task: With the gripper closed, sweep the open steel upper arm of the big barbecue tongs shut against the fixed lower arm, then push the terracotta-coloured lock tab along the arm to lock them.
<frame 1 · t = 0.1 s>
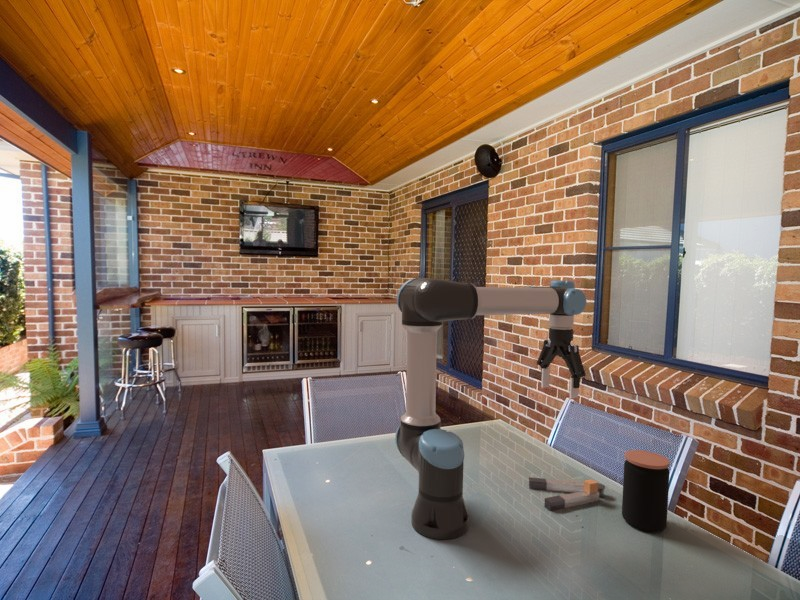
hand: (558, 392, 148), 28 cm above the table, fingers open, 13 cm apart
tongs lower: (598, 495, 136), on the table
tongs upper: (558, 485, 139), point 1 cm above the table, hinge at 30.0°
coffee jar: (643, 523, 121), on the table
lock tab: (590, 486, 133), point 4 cm above the table, slide at 0.0 cm
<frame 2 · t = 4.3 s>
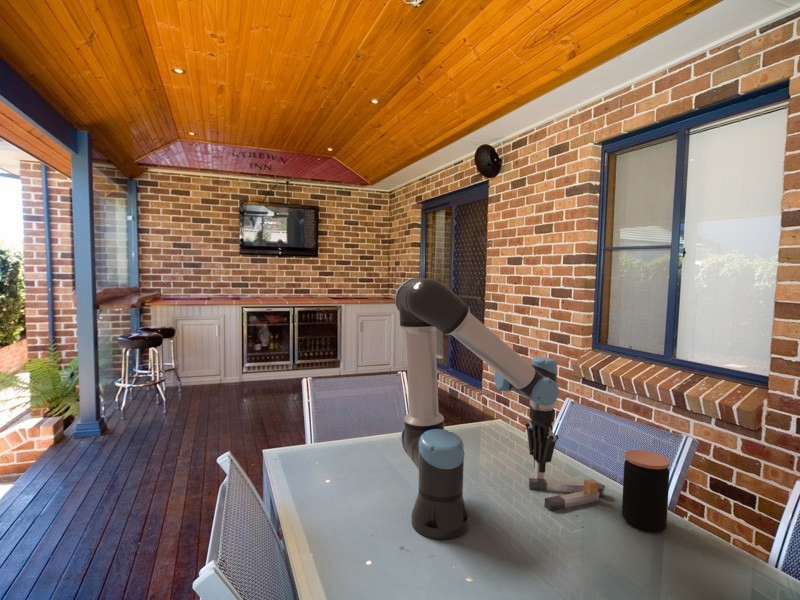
hand: (539, 480, 142), 1 cm above the table, fingers closed
tongs upper: (558, 485, 139), point 1 cm above the table, hinge at 28.5°, touching gripper
everything else where it was.
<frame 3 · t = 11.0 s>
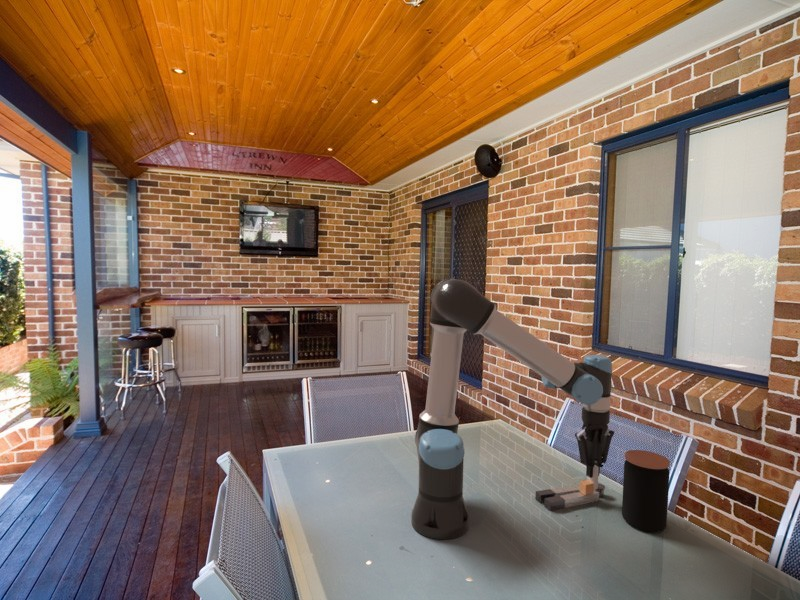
hand: (592, 486, 133), 4 cm above the table, fingers closed
tongs upper: (563, 493, 134), point 1 cm above the table, hinge at 3.9°
lock tab: (586, 487, 132), point 4 cm above the table, slide at 1.6 cm, touching gripper
everything else where it was.
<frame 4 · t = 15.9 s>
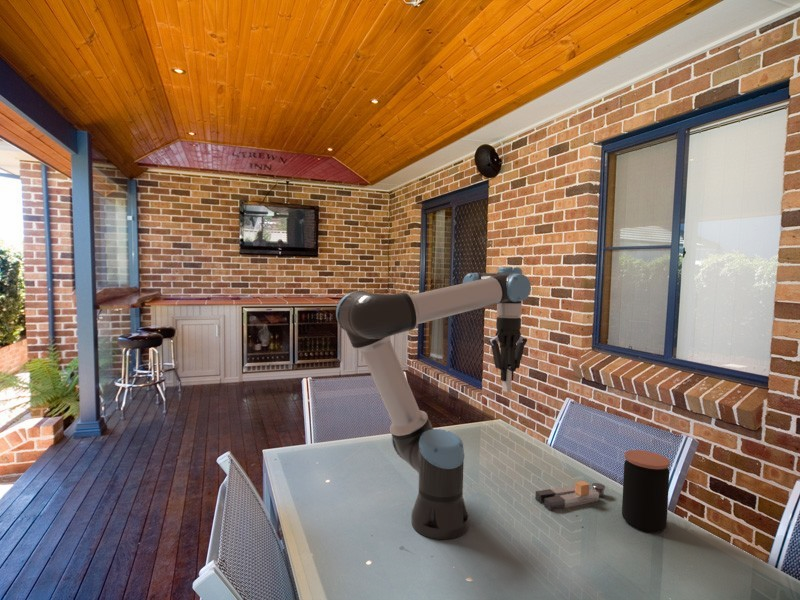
hand: (506, 390, 143), 29 cm above the table, fingers closed
lock tab: (582, 488, 132), point 4 cm above the table, slide at 3.2 cm
everything else where it was.
at the end: tongs upper at +4° (first picture: +30°); lock tab slide at 3.2 cm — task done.
